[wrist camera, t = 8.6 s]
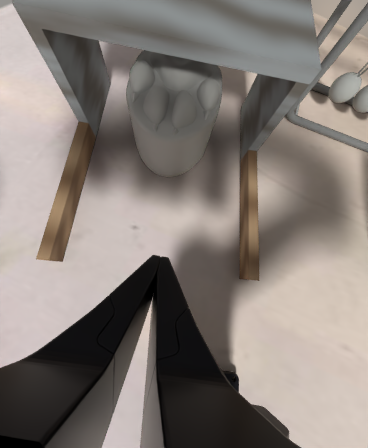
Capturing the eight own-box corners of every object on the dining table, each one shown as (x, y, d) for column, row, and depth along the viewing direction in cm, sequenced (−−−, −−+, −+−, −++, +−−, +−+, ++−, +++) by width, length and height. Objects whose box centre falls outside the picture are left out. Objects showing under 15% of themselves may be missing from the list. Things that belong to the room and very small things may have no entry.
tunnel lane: (248, 279, 22) (355, 291, 10) (51, 260, 20) (-125, 245, 8) (247, 109, 29) (309, -7, 17) (102, 82, 27) (53, -73, 15)
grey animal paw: (211, 112, 28) (231, 46, 20) (199, 184, 25) (218, 140, 16) (146, 96, 27) (140, 21, 19) (125, 168, 24) (106, 114, 16)
